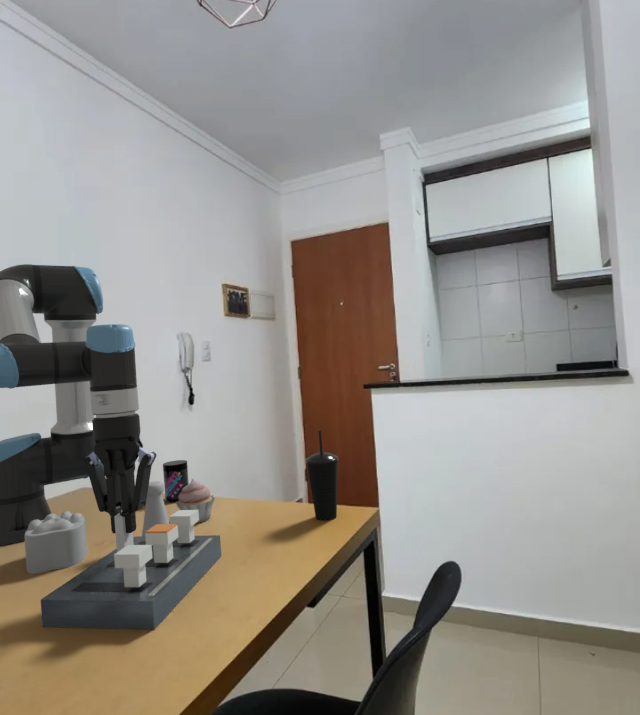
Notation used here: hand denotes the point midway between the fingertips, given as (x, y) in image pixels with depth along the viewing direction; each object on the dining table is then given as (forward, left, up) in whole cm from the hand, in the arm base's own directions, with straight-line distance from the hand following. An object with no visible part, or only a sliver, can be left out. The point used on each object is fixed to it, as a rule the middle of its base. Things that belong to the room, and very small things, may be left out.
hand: (125, 551), depth 82 cm
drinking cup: (+29, +34, -6) cm, 45 cm away
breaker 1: (+7, -9, -2) cm, 12 cm away
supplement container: (-17, +52, -6) cm, 55 cm away
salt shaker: (-5, +19, -6) cm, 20 cm away
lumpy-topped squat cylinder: (-23, +12, -6) cm, 26 cm away
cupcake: (-3, +34, -6) cm, 34 cm away
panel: (+3, 0, -6) cm, 7 cm away
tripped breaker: (+7, 0, -1) cm, 7 cm away
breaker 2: (+7, +8, -2) cm, 11 cm away
